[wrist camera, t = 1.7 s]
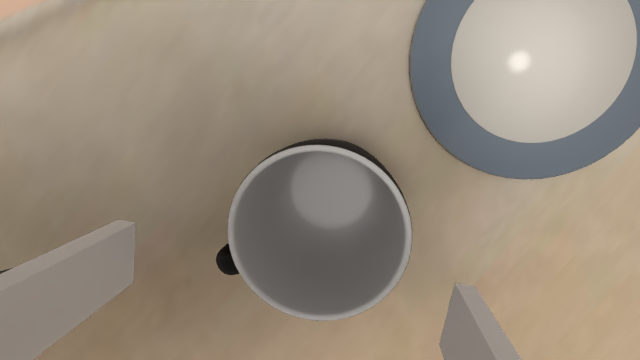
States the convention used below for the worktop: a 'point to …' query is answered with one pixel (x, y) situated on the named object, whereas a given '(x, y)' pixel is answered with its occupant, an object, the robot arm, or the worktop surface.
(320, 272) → the mug
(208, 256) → the worktop surface
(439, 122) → the saucer
